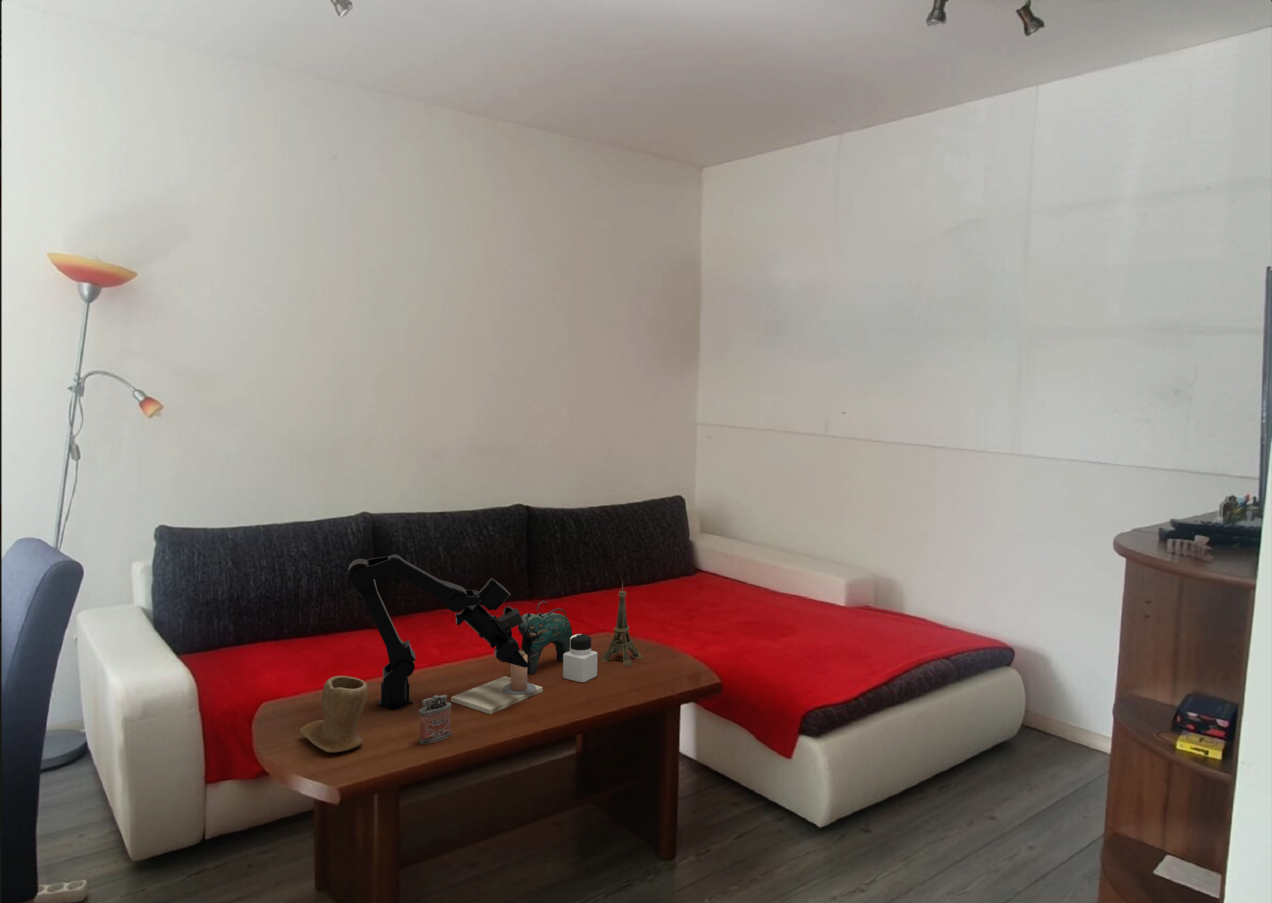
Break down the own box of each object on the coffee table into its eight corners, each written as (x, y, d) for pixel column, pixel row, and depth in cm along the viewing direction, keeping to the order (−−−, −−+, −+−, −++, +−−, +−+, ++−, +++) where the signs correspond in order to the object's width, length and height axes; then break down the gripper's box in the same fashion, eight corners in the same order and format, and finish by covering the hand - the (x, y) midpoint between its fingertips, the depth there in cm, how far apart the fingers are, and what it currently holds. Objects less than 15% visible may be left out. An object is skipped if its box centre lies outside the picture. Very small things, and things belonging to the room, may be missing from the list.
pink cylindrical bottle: (523, 691, 224) (524, 655, 223) (508, 690, 225) (508, 653, 224) (529, 686, 228) (529, 650, 227) (513, 684, 229) (514, 648, 228)
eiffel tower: (612, 652, 263) (614, 573, 262) (643, 657, 259) (645, 576, 257) (597, 662, 254) (599, 580, 252) (630, 667, 250) (631, 584, 248)
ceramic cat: (528, 677, 239) (528, 608, 238) (512, 672, 243) (513, 603, 242) (575, 660, 255) (576, 595, 253) (560, 655, 259) (561, 591, 257)
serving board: (491, 714, 212) (491, 709, 212) (451, 701, 220) (451, 696, 220) (544, 691, 228) (544, 686, 228) (504, 680, 236) (504, 675, 236)
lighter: (446, 731, 201) (446, 690, 200) (454, 735, 199) (454, 694, 198) (416, 740, 196) (416, 698, 195) (423, 745, 193) (423, 702, 192)
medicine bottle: (597, 676, 241) (598, 635, 240) (582, 683, 235) (583, 641, 234) (577, 671, 245) (578, 630, 244) (562, 678, 239) (562, 636, 238)
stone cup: (376, 746, 192) (376, 681, 191) (325, 761, 184) (324, 694, 183) (348, 725, 203) (348, 664, 202) (298, 738, 195) (298, 675, 194)
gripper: (510, 609, 214) (552, 649, 219) (500, 591, 232) (539, 628, 236) (478, 641, 213) (521, 681, 217) (471, 621, 231) (511, 658, 235)
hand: (524, 660), depth 226 cm, fingers open, 9 cm apart
